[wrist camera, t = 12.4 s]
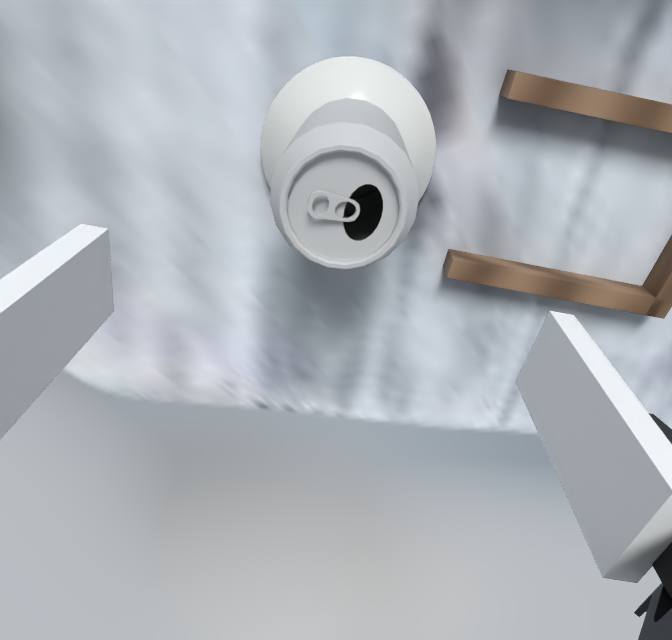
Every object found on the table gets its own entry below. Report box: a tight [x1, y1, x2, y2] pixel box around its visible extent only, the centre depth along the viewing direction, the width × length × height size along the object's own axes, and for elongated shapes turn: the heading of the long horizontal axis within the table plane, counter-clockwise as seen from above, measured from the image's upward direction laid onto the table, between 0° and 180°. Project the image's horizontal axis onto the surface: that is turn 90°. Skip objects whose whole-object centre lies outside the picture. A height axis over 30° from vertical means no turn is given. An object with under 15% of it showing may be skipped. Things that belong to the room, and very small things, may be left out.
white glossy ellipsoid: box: [261, 56, 436, 202], centre depth 33 cm, size 12×12×1 cm
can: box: [270, 98, 419, 270], centre depth 28 cm, size 8×8×12 cm
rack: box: [443, 70, 672, 319], centre depth 34 cm, size 17×14×2 cm
